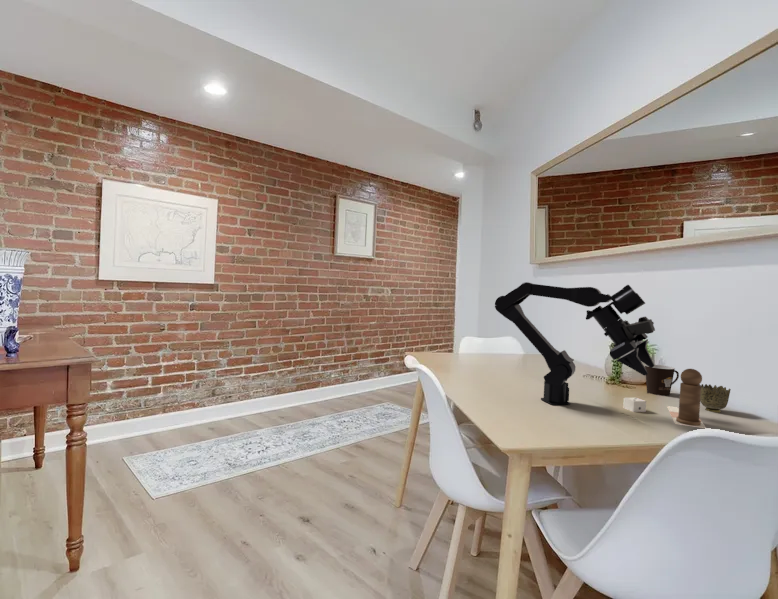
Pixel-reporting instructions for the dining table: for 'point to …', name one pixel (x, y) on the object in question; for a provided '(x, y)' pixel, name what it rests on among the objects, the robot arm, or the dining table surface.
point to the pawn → (690, 397)
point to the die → (634, 404)
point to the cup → (714, 397)
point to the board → (675, 414)
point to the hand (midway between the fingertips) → (649, 370)
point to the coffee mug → (660, 379)
